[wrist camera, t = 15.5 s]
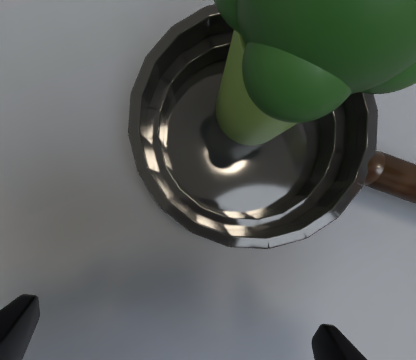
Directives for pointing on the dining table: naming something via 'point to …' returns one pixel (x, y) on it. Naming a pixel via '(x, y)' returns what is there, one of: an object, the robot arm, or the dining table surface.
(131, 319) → the dining table surface
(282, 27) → the broccoli
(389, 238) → the dining table surface
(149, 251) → the dining table surface
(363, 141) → the pan
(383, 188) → the pan handle
